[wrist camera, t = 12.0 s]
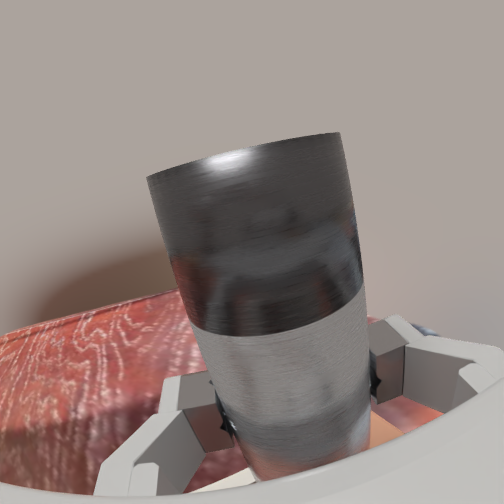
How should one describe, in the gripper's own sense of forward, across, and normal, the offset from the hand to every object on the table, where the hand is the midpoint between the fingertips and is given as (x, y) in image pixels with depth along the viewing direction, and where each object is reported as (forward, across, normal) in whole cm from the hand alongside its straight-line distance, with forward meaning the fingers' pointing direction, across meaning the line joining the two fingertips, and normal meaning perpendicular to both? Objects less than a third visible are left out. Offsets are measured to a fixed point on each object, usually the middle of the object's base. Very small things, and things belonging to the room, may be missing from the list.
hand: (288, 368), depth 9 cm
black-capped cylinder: (-1, 0, +9) cm, 9 cm away
